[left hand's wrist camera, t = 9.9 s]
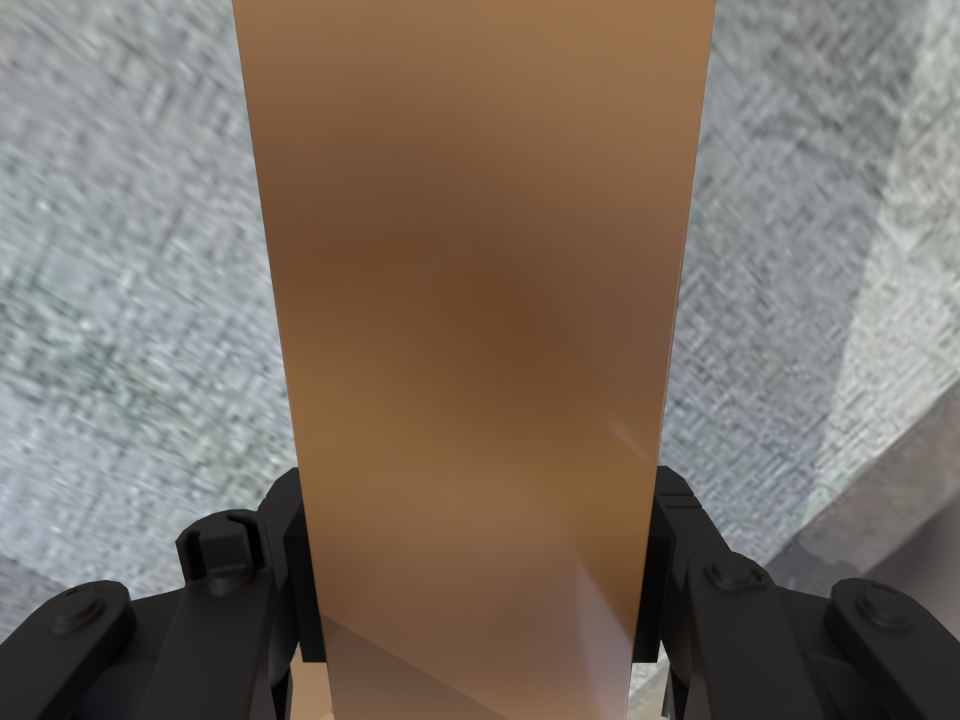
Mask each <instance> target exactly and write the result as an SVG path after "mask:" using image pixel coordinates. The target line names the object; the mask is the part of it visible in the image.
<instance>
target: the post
mask: <svg viewBox="0 0 960 720" xmlns="http://www.w3.org/2000/svg"><path fill="white" fill-rule="evenodd" d="M715 3H716V0H232V4H233V11H234V18H235V25H236V32H237V39H238V46H239V53H240V60H241V67H242V74H243V81H244V88H245V95H246V102H247V109H248V116H249V124H250V131H251V138H252V145H253V152H254V159H255V166H256V173H257V180H258V187H259V194H260V201H261V208H262V215H263V222H264V229H265V236H266V243H267V250H268V257H269V264H270V271H271V278H272V285H273V292H274V299H275V306H276V313H277V320H278V327H279V334H280V341H281V348H282V355H283V362H284V370H285V377H286V384H287V391H288V398H289V405H290V412H291V419H292V426H293V433H294V440H295V447H296V454H297V461H298V468H299V475H300V482H301V489H302V496H303V503H304V510H305V517H306V524H307V531H308V538H309V545H310V552H311V559H312V566H313V573H314V580H315V587H316V594H317V601H318V609H319V616H320V623H321V630H322V637H323V644H324V651H325V658H326V665H327V672H328V679H329V686H330V693H331V700H332V707H333V714H334V720H625V719H626V711H627V703H628V695H629V687H630V679H631V671H632V663H633V655H634V647H635V639H636V631H637V623H638V615H639V607H640V599H641V591H642V583H643V575H644V567H645V559H646V551H647V544H648V536H649V528H650V520H651V512H652V504H653V496H654V488H655V480H656V472H657V464H658V456H659V448H660V440H661V432H662V424H663V416H664V408H665V400H666V392H667V384H668V376H669V369H670V361H671V353H672V345H673V337H674V329H675V321H676V313H677V305H678V297H679V289H680V281H681V273H682V265H683V257H684V249H685V241H686V233H687V225H688V217H689V209H690V201H691V194H692V186H693V178H694V170H695V162H696V154H697V146H698V138H699V130H700V122H701V114H702V106H703V98H704V90H705V82H706V74H707V66H708V58H709V50H710V42H711V34H712V26H713V18H714V11H715Z"/></svg>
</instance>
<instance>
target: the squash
mask: <svg viewBox="0 0 960 720" xmlns="http://www.w3.org/2000/svg"><path fill="white" fill-rule="evenodd" d="M290 666H291V672H292V679H293V694H292V705H291V716H290V720H334V714H333V707H332V700H331V693H330V686H329V679H328V672H327V665H326V663H303V662H302V656H301V650H300V648H299V650H298V651H297V653H296V655H295V657H294V658H293V660H292V662H291V663H290Z"/></svg>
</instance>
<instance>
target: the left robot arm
mask: <svg viewBox="0 0 960 720" xmlns="http://www.w3.org/2000/svg"><path fill="white" fill-rule="evenodd" d="M175 543H176V547H177V551H178V555H179V559H180V563H181V567H182V571H183V575H184V579H185V583H186V584H185V587H184V588H181V589H178V590H174V591H171V592H167V593H163V594H159V595H154V596H150V597H146V598H142V599H137V600H133V601H131V598H130V595H129V591H128V589H127V588H126V587H125V586H124V585H123V584H121V583H120V582H116V581H110V580H102V581H95V582H88V583H85V584H82V585H79V586H76V587H73V588H70V589H68V590H66V591H64V592H62V593H60V594H59V595H57V596H55V597H53V598H51V599H49V600H48V601H47V602H45V603H44V604H43V605H42V606H40V607H39V608H38V609H37V610H36V611H34V612H33V613H32V614H31V615H30V616H29V617H28V618H27V619H26V620H25V621H24V622H23V623H22V624H21V625H20V626H19V627H18V628H17V629H16V630H15V631H14V632H13V633H12V634H11V635H10V636H9V637H8V638H7V639H6V640H5V641H4V642H3V643H2V644H1V645H0V720H290V716H291V705H292V694H293V679H292V672H291V666H290V663H291V660H292V658H293V655H294V652H295V650H296V647H297V645H298V642H299V643H300V650H301V656H302V662H303V663H326V658H325V651H324V644H323V637H322V630H321V623H320V616H319V609H318V601H317V594H316V587H315V580H314V573H313V566H312V559H311V552H310V545H309V538H308V531H307V524H306V517H305V510H304V503H303V496H302V489H301V482H300V475H299V468H298V467H293V468H292V469H290V470H289V471H288V472H286V473H285V474H284V475H282V476H281V477H280V478H278V479H277V480H276V481H275V482H274V484H273V485H272V487H271V488H270V490H269V492H268V493H267V495H266V498H264V499H263V501H262V502H261V504H260V505H259V507H258V511H256V512H255V511H251V510H247V509H231V510H226V511H222V512H217V513H213V514H211V515H209V516H206V517H204V518H202V519H200V520H197V521H196V522H194V523H193V524H192V525H190V526H189V527H188V528H186V529H185V530H183V532H182V533H181V534H180V536H179V537H178V538H177V540H176V541H175ZM661 640H662V643H663V646H664V648H665V651H666V653H667V656H668V659H669V661H670V666H669V672H668V678H667V684H666V690H665V695H664V701H663V708H662V714H661V716H663V717H668V715H669V714H670V720H960V642H959V641H958V640H957V639H956V638H955V637H954V636H953V635H952V634H951V633H950V632H949V631H948V630H947V629H946V628H945V627H944V626H943V625H942V624H941V623H940V622H939V621H938V620H937V619H936V618H935V617H934V616H933V615H932V614H931V613H930V612H929V611H928V610H927V609H925V608H924V607H923V606H921V605H920V604H919V603H918V602H916V601H915V600H914V599H913V598H911V597H910V596H908V595H906V594H904V593H902V592H900V591H899V590H897V589H895V588H893V587H891V586H888V585H885V584H882V583H879V582H876V581H873V580H867V579H860V578H849V579H843V580H840V581H838V582H837V583H836V584H835V585H834V586H833V587H832V590H831V593H830V597H829V599H828V598H823V597H819V596H815V595H810V594H806V593H802V592H797V591H793V590H789V589H786V588H783V587H779V586H776V585H775V583H774V582H773V580H772V579H771V577H770V576H769V574H768V572H767V571H766V570H764V569H763V568H762V567H761V566H760V565H758V564H757V563H756V562H755V561H753V560H751V559H749V558H747V557H745V556H743V555H741V554H739V553H736V552H732V551H731V550H730V548H729V547H728V545H727V544H726V542H725V541H724V539H723V538H722V536H721V534H720V533H719V531H718V530H717V528H716V527H715V525H714V524H713V522H712V521H711V519H710V518H709V516H708V515H707V513H706V511H705V510H704V509H702V505H701V504H700V502H699V501H698V499H697V498H696V497H694V493H693V492H692V490H691V488H690V487H689V485H688V484H687V482H686V481H685V479H684V478H683V477H681V476H680V475H678V474H677V473H676V472H674V471H673V470H672V469H670V468H669V467H668V466H657V472H656V480H655V488H654V496H653V504H652V512H651V520H650V528H649V536H648V544H647V551H646V559H645V567H644V575H643V583H642V591H641V599H640V607H639V615H638V623H637V631H636V639H635V647H634V655H633V663H657V660H658V654H659V647H660V641H661Z"/></svg>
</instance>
